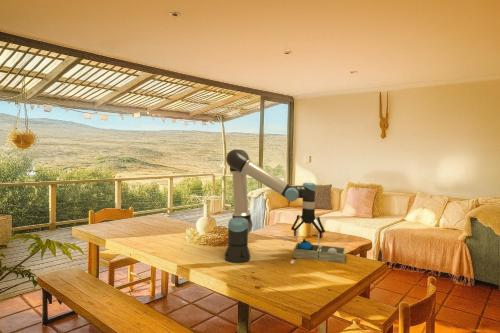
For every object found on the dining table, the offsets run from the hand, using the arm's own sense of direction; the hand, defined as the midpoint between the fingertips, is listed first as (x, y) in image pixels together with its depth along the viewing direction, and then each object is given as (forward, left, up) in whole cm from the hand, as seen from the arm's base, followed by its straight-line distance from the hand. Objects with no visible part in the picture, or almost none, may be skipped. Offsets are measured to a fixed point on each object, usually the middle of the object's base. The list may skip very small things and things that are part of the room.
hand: (307, 242), depth 204 cm
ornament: (0, 0, -7) cm, 7 cm away
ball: (0, -15, -8) cm, 17 cm away
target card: (-13, +3, -9) cm, 16 cm away
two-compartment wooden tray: (0, -8, -9) cm, 11 cm away
